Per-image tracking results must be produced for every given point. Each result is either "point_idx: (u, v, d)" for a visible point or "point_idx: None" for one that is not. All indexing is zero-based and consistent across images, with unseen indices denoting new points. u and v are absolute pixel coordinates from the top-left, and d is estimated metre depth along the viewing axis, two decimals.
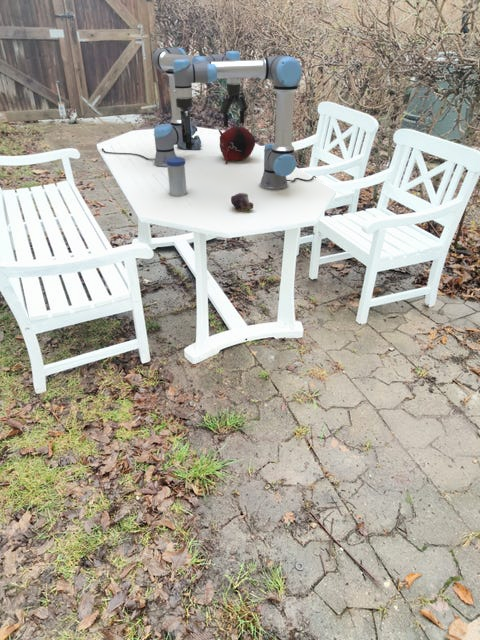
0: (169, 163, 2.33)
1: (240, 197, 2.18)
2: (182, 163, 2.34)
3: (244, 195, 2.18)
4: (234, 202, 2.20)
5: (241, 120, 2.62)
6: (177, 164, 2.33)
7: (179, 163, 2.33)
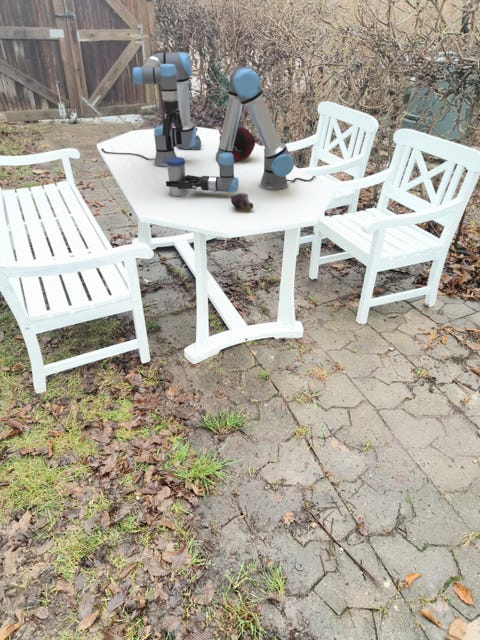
0: (169, 163, 2.33)
1: (240, 197, 2.18)
2: (182, 163, 2.34)
3: (244, 195, 2.18)
4: (234, 202, 2.20)
5: None
6: (177, 164, 2.33)
7: (179, 163, 2.33)
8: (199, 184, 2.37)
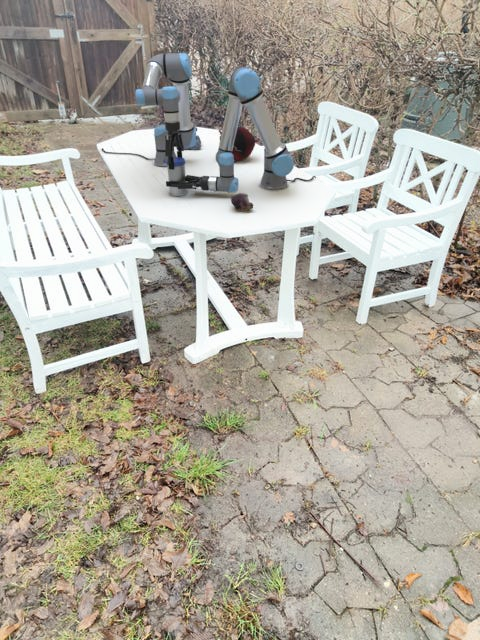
0: None
1: (240, 197, 2.18)
2: (182, 163, 2.34)
3: (244, 195, 2.18)
4: (234, 202, 2.20)
5: None
6: (177, 164, 2.33)
7: (179, 163, 2.33)
8: (199, 184, 2.37)
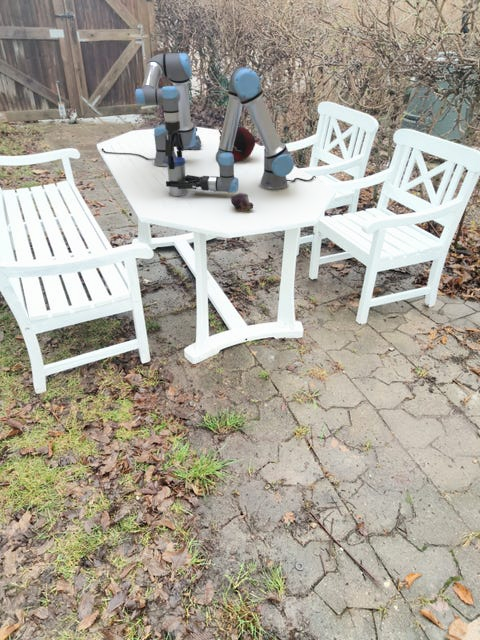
0: (184, 161, 2.35)
1: (240, 197, 2.18)
2: None
3: (244, 195, 2.18)
4: (234, 202, 2.20)
5: None
6: None
7: None
8: (199, 184, 2.37)
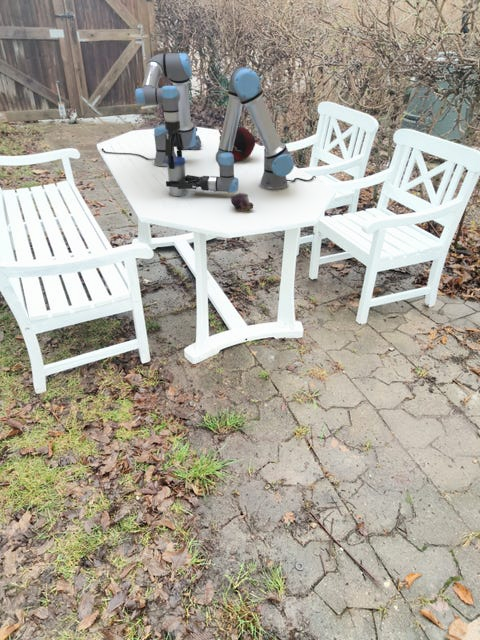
0: None
1: (240, 197, 2.18)
2: None
3: (244, 195, 2.18)
4: (234, 202, 2.20)
5: None
6: None
7: None
8: (199, 184, 2.37)
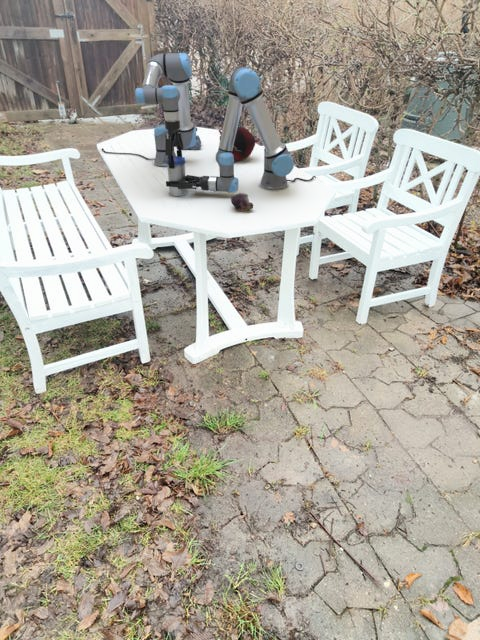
0: (166, 161, 2.35)
1: (240, 197, 2.18)
2: (176, 163, 2.32)
3: (244, 195, 2.18)
4: (234, 202, 2.20)
5: None
6: None
7: None
8: (199, 184, 2.37)
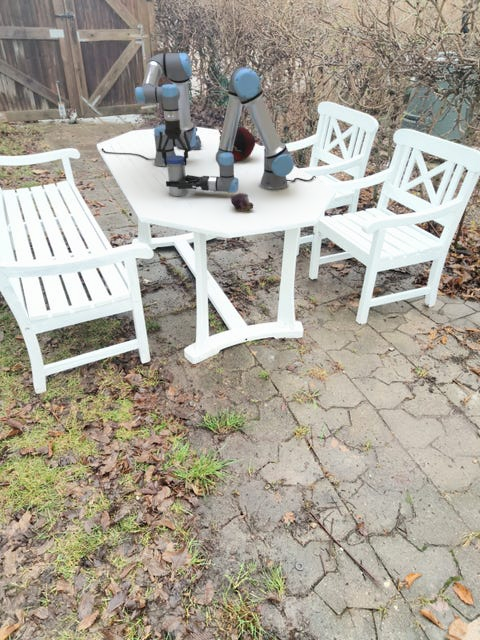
0: (179, 161, 2.33)
1: (240, 197, 2.18)
2: None
3: (244, 195, 2.18)
4: (234, 202, 2.20)
5: (184, 161, 2.37)
6: None
7: None
8: (199, 184, 2.37)
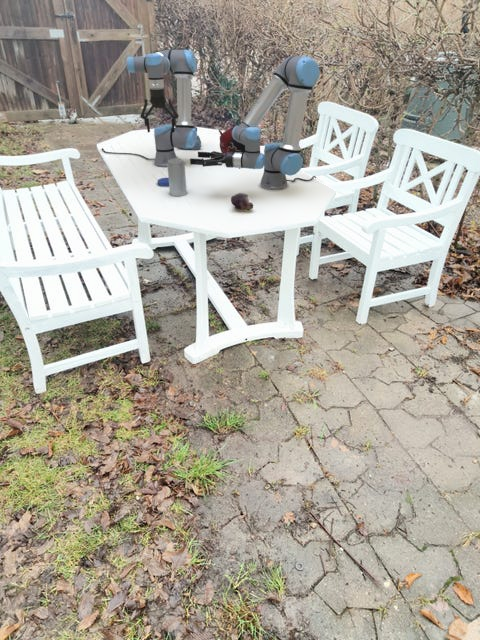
0: None
1: (240, 197, 2.18)
2: None
3: (244, 195, 2.18)
4: (234, 202, 2.20)
5: None
6: None
7: None
8: (224, 160, 2.27)
